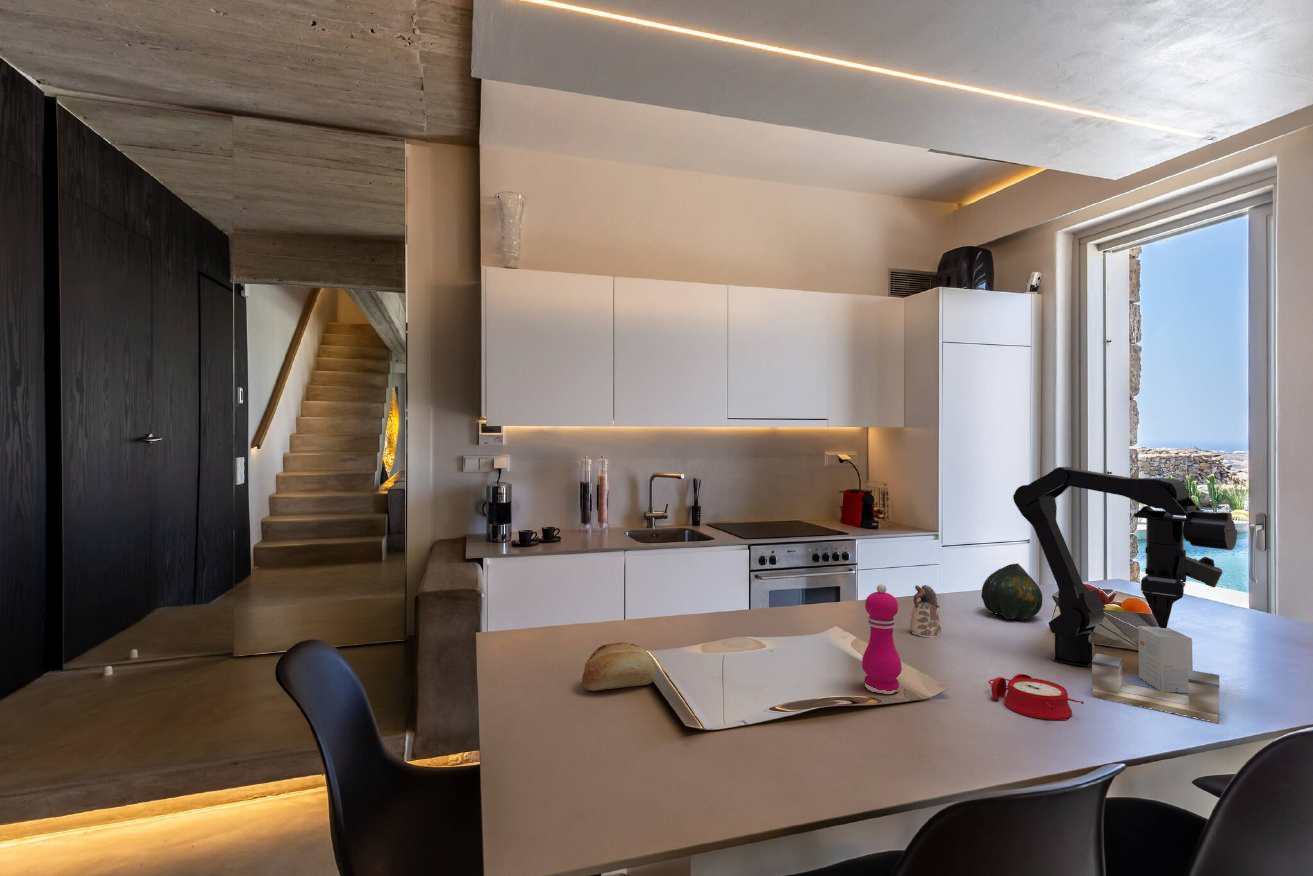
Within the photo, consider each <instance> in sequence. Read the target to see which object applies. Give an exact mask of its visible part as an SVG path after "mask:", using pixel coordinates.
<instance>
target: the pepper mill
mask: <svg viewBox="0 0 1313 876" xmlns="http://www.w3.org/2000/svg"><path fill="white" fill-rule="evenodd" d="M864 603H865V604H864V608H865V611H866V613H868V617H867V620H868V621H867V625H868V626H869V628H870V629H869V630H870V633H869V635H870V637H869V640H868V644H867V646H866V649H865V651H864V653H863V655H862V659H861V669H862V670H863V672H864V674H866V675H865V676H864V681H863V682H865V683H866V684H867V685H869V686H871V687H873V688H876V689H878V690H886V691H892V690H897V689H898V688H899V689H900V681H899V679H897V678H898V677H899V676H900V674H902V668H903V667H902V661H901V658H900V655H899V652H898V651H897V648H896V646H895V641H894V628H896V618H894V617H895V616H896V615H897V614H898V611H899V604H898V601H897V599H896V597H895V596H894V595H892V594H890V593H889V592H887V586H886V585H885V584H883V583H880V584H878V585H877V586H876V592H873V593H872V592H871V593H870V594H869V595H868V596H867V597H866V599H865V602H864Z"/></svg>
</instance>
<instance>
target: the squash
mask: <svg viewBox="0 0 1313 876" xmlns="http://www.w3.org/2000/svg"><path fill="white" fill-rule="evenodd" d="M1042 593H1043V592H1042V591H1041V587H1039V585H1038V584H1037V582H1036V581H1035V580H1034V579H1033V577H1032V576H1031V575H1030V574H1029V573H1027V571H1026V570H1025V569H1024V568H1023V567H1022V566H1021V565H1020V564H1019V563H1011V564H1008V565H1006V566H1003V567H1001V568H998V569H997V570H995V571H994V572H992V573H991V574H990V575H989V576H987V578H986V579H985V581H983V585H982V587H981V600H982V601H983V604H984V607H985V608H986V609H987V611H988V612H991V613H992V614H994V613H997V614H996V615H998V614H1001V615H1002V616H1003V618H1005V619H1007V620H1008V619H1013V620H1014V619H1016V620H1019V619H1020V621H1022V620H1026V619H1028V618H1031V617H1034V616H1036V615H1037V614H1038V613H1039V612H1040V611H1041V609H1042V606H1043V594H1042Z"/></svg>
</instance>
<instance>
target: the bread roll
mask: <svg viewBox="0 0 1313 876" xmlns="http://www.w3.org/2000/svg"><path fill="white" fill-rule="evenodd" d="M656 677H657V669H656V666H655V663H654V661H653V660H652V659H651V656H650V655H649V654H648V652H647V651H646V650H645V649H644V648H642V647H641V646H640V645H637V644H635V643H631V642H626V641H620V642H619V641H618V642H611V643H607V644H603V645H600V646H599V647H598V648H596V649H595V650H594V651H593V652H592V654H591V655H590V657H589V658H588V660H587V661H586V662H585V664H584V670H583V673H582V679H581V681H582V686H583V687H584V688H585V690H588V691H593V692H594V691H595V692H596V691H603V690H604V691H605V690H612V689H619V688H629V687H638V686H639V687H640V686H646V685H650V684H651V683H653V681H654V680H655V679H656Z"/></svg>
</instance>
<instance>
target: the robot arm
mask: <svg viewBox="0 0 1313 876" xmlns="http://www.w3.org/2000/svg"><path fill="white" fill-rule="evenodd" d="M1070 487H1073V488H1079V489H1085V490H1089V491H1094V492H1095V491H1096V492H1102V493H1106V494H1111V495H1117V496H1122V497H1125V498H1128V499H1130V500H1132V501H1135V502H1136V503H1139V504H1142V505H1144V506H1142V507H1141V509H1140V510H1138V511H1137V512H1135V513H1133V517H1134V518H1138V519H1146V531H1145V533H1146V539H1145V540H1146V543H1145V544H1146V545H1145V552H1144V553H1145V554H1146V556H1145V558H1146V560H1145V563H1146V565H1145V566H1146V567H1145V569H1144V570H1145V572H1144V573H1145V576H1143V577H1142V578H1141V579H1140V591H1142V592H1141V593H1142V595H1143V596H1144V598H1145V600H1146V602H1147V604H1148V607H1149V609H1150V610H1151V612H1152V614H1153V617H1154V619H1155V622H1156V623H1157V625H1158V626H1157V627H1160V628H1168V624H1169V619H1170V616H1171V613H1172V608H1173V605H1174V603H1175V602H1178V601H1179V600H1180V599H1182V598H1183V596H1184V591H1185V587H1186V583H1187V577H1188V578H1191V579H1192V580H1196V581H1198V582H1201V583H1203V584H1205V585H1206V586H1208V587H1211V588H1216V586H1217V584H1218V583H1219V580H1220V578H1221V577H1222V575H1223V569H1222V568H1220V567H1216V566H1215V561H1214V559H1213V558H1210V557H1207V556H1203V557H1202V558H1200V559H1196V558H1192V557H1189V556H1187V552H1186V551H1187V550H1186V549H1185V548H1184V540H1185V541H1186V542H1189V544H1190V545H1191V546H1192V547H1199V548H1206V549H1207V548H1208V549H1215V550H1217V549H1218V550H1225V551H1226V550H1227V551H1232V550H1234V549H1235V546H1236V543H1237V540H1238V529H1236V524H1235V522H1234V520H1233V517H1232V516H1233V514H1232V513H1231V512H1228V511H1227V512H1226V511H1225V512H1224V511H1220V512H1212V511H1202V509H1201V508H1200V507H1199V506H1198V505H1197V503H1195V501H1194V500H1193V498H1191V497H1190V495H1189V490H1188V488H1187V486H1186V485H1185V484H1184V483H1183V481H1182V480H1179V479H1176V478H1172V477H1168V478H1167V477H1161V478H1160V477H1127V476H1122V475H1115V474H1111V473H1110V474H1109V473H1104V472H1097V471H1092V470H1084V469H1078V468H1075V467H1073V466H1058V467H1055V468H1054V469H1053V470H1052V471H1050V472H1049V473H1047V474H1045V475H1043V476H1041V477H1040V478H1037V479H1035V480H1033V481H1032V482H1030V483H1028V484H1023V485H1020V486H1018V487H1017V488H1016V489H1015V492H1014V493H1013V495H1012V497H1013V498H1012V500H1013V502H1014V504H1015V506H1016V507H1017V509H1018V511H1019V512H1020V515H1021V516H1023V518H1024V519H1025V520H1027V522H1029V523H1030V525H1031V526H1032V527H1033V529H1034V532H1035V534H1036V537H1037V539H1038V542H1039V545H1040V547H1041V550H1042V551H1043V554H1044V556H1045V559H1046V561H1047V563H1048V566H1049V568H1050V570H1051V573H1052V576H1053V578H1054V580H1055V583H1056V586H1057V588H1058V595H1057V605H1058V609H1059V613H1060V614H1059V615H1057V616H1056V617H1054V618H1053V619H1052V620H1050V621H1049V622H1048V627H1049V628H1050V632H1051V633H1052V634H1054V656H1053V658H1052V661H1053V662H1057V663H1063V664H1068V665H1074V666H1079V667H1084V668H1089V667H1090V665H1092V660H1093V658H1094V657H1095V642H1094V640H1092V637H1091V635H1092V634H1091V633H1094V631H1095V630H1096V628H1097V626H1099V625H1100V624H1101V623H1103V621H1104V618H1105V615H1106V614H1105V610H1104V609H1106V608H1107V607H1106V606H1105V604H1104V603H1103V602H1102V600H1101V597H1100V593H1099V591H1098V589H1092V590H1091V589H1090V588H1088V587H1087V586H1086V585H1085V584H1084V583H1083V581H1082V579H1081V576H1080V574H1079V571H1078V569H1077V567H1076V564H1075V562H1074V560H1073V557H1072V555H1071V553H1070V549H1069V548H1068V546H1067V543H1066V540H1065V538H1064V536H1063V533H1062V531H1061V529H1060V527H1059V524H1058V522H1057V503H1056V498H1058V497H1059V496H1061V495H1062V494H1063V493H1064V492H1065V491H1066V490H1068V488H1070ZM1158 509H1161V510H1158Z"/></svg>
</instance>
